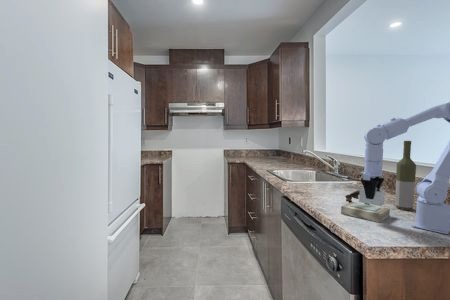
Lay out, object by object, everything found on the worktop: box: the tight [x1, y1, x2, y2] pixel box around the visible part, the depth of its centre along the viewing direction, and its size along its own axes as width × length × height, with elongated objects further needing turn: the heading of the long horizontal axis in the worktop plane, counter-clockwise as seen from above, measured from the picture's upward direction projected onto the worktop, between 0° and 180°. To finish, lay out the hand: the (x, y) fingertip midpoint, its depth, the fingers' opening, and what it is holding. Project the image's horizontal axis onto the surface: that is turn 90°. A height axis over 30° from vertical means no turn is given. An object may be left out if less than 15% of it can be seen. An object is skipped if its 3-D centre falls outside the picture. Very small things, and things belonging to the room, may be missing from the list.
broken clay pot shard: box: [344, 189, 371, 205], centre depth 117 cm, size 12×10×8 cm
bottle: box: [395, 140, 417, 211], centre depth 112 cm, size 7×7×30 cm
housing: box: [358, 187, 386, 207], centre depth 95 cm, size 7×4×6 cm, turn 43°
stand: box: [340, 201, 391, 223], centre depth 103 cm, size 14×12×3 cm
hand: (371, 197), depth 95 cm, fingers closed on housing, 4 cm apart
